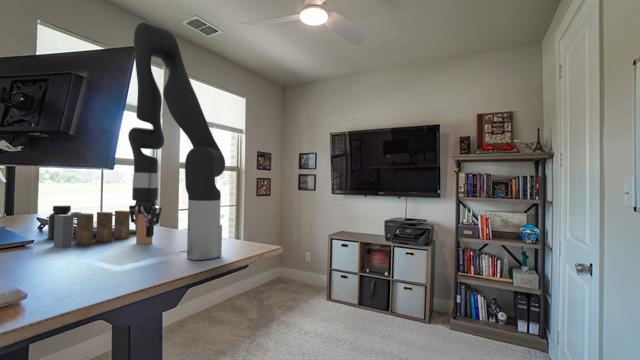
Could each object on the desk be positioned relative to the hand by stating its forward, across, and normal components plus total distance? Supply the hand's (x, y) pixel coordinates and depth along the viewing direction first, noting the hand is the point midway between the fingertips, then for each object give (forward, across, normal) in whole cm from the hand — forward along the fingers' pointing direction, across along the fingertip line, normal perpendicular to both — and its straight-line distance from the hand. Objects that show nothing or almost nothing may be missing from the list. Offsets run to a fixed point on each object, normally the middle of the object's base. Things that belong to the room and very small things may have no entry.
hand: (144, 235), depth 100 cm
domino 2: (+2, -16, -4) cm, 17 cm away
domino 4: (+2, 0, 0) cm, 2 cm away
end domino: (+2, -16, -16) cm, 23 cm away
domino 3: (+2, -16, +2) cm, 16 cm away
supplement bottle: (+3, -30, -10) cm, 32 cm away
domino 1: (+2, -16, -10) cm, 19 cm away
